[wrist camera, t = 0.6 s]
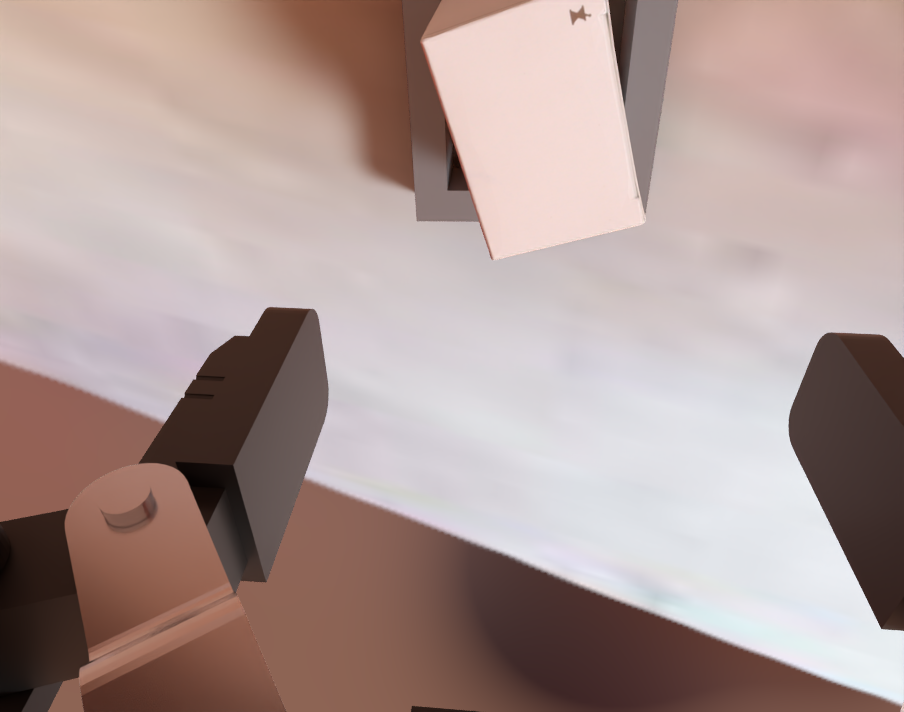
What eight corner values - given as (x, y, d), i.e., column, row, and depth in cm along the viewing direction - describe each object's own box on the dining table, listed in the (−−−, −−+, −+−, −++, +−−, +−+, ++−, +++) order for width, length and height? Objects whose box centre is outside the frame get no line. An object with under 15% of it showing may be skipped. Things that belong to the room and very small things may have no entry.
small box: (446, -14, 27) (413, 31, 19) (577, -62, 26) (605, -35, 18) (497, 164, 32) (488, 267, 23) (612, 131, 30) (648, 228, 22)
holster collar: (678, -115, 25) (695, -115, 22) (634, 197, 32) (644, 222, 30) (406, -105, 26) (394, -104, 23) (424, 196, 33) (416, 221, 31)
